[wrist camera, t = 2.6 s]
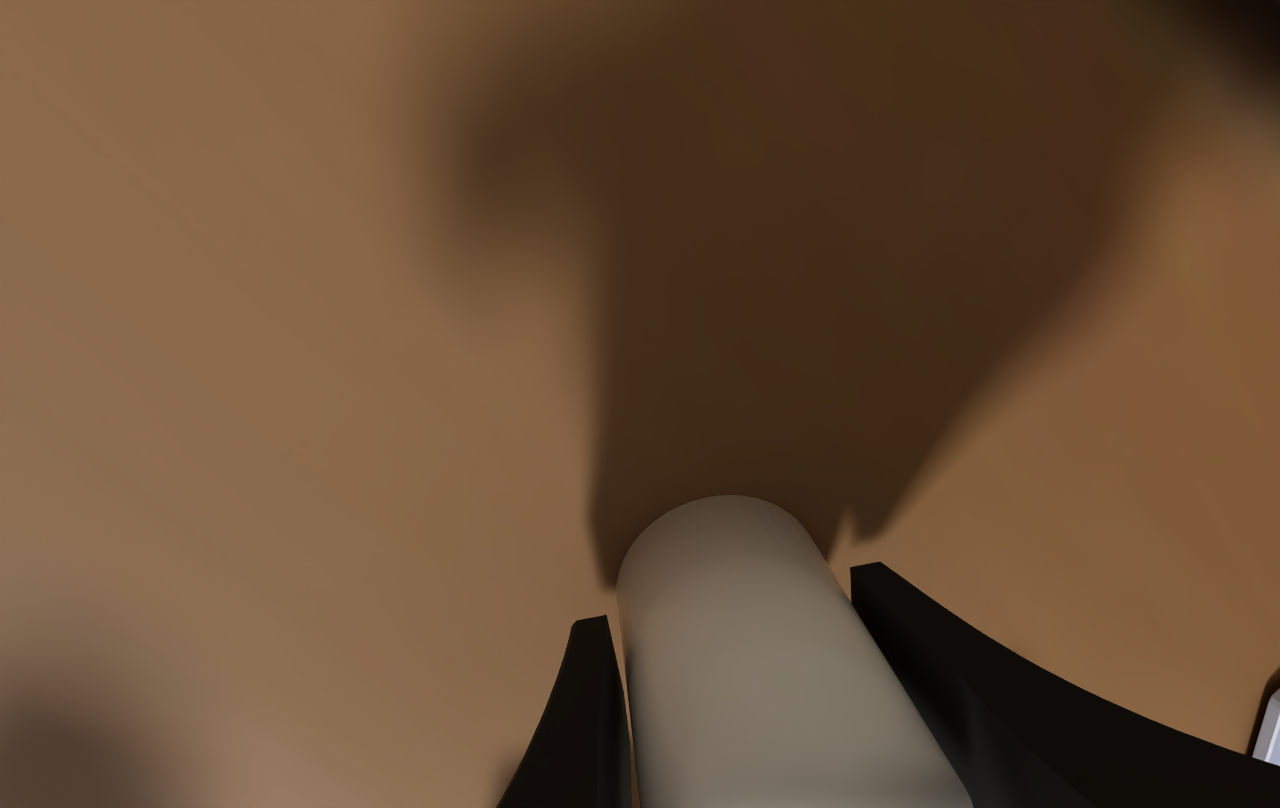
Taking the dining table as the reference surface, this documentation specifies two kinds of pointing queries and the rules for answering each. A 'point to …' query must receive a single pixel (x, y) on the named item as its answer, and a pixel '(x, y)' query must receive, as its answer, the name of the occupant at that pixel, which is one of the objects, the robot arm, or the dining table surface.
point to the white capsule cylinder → (762, 673)
